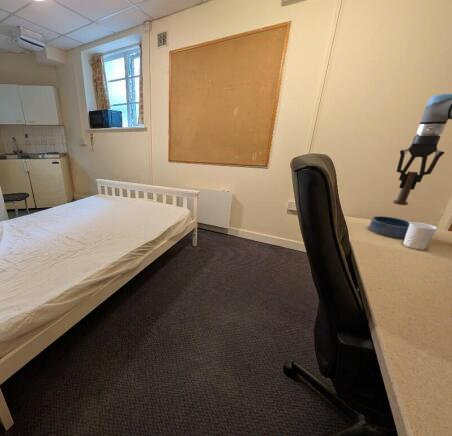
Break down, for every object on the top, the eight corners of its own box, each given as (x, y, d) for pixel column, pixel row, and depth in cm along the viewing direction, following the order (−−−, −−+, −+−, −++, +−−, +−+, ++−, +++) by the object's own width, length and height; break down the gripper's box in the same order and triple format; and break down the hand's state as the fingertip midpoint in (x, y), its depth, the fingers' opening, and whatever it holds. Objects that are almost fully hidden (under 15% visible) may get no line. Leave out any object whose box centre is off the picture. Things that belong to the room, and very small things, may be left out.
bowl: (409, 232, 112) (414, 221, 110) (411, 242, 101) (417, 230, 99) (369, 224, 122) (372, 214, 120) (367, 232, 111) (371, 221, 109)
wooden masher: (407, 203, 106) (420, 171, 100) (407, 205, 102) (421, 173, 97) (392, 201, 109) (404, 170, 103) (392, 203, 105) (405, 171, 100)
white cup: (426, 252, 92) (437, 230, 89) (400, 245, 98) (408, 225, 94) (427, 246, 97) (437, 225, 93) (402, 240, 103) (410, 220, 99)
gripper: (401, 135, 97) (382, 187, 106) (460, 135, 87) (433, 192, 95) (400, 135, 102) (382, 184, 111) (455, 135, 92) (431, 189, 100)
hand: (406, 188), depth 103 cm, fingers closed on wooden masher, 3 cm apart
